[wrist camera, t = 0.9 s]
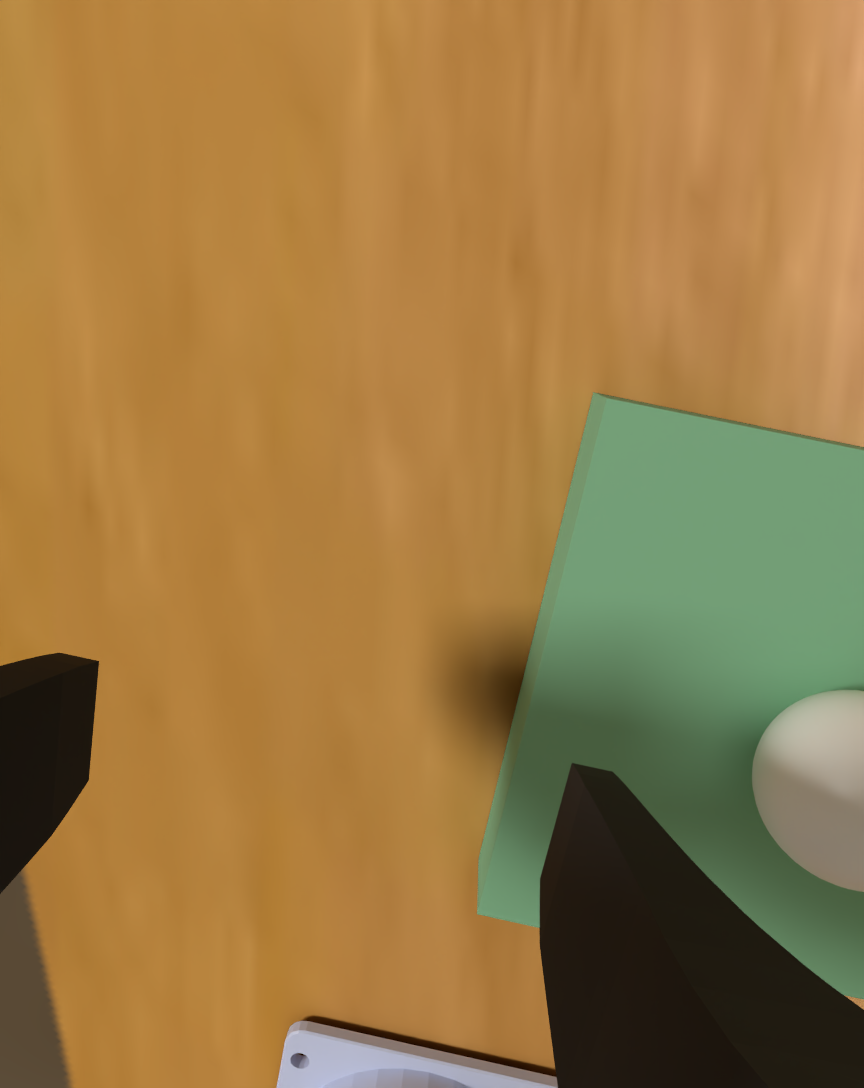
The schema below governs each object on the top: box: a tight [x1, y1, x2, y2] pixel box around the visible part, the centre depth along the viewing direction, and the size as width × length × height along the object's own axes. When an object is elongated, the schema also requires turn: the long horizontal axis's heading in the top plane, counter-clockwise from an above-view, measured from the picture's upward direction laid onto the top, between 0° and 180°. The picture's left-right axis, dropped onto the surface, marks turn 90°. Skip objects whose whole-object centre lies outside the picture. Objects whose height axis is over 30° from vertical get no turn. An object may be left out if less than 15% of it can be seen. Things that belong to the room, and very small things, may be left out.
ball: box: [752, 690, 864, 892], centre depth 14 cm, size 4×4×4 cm
